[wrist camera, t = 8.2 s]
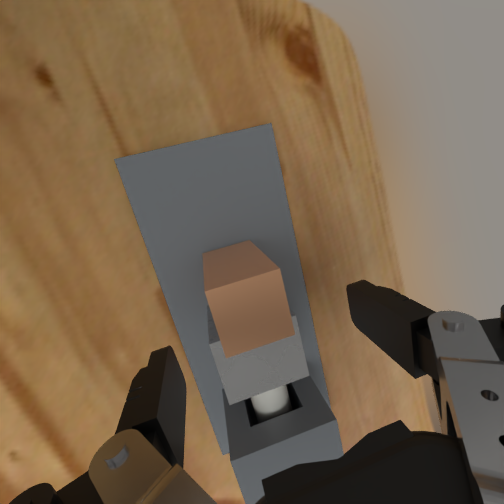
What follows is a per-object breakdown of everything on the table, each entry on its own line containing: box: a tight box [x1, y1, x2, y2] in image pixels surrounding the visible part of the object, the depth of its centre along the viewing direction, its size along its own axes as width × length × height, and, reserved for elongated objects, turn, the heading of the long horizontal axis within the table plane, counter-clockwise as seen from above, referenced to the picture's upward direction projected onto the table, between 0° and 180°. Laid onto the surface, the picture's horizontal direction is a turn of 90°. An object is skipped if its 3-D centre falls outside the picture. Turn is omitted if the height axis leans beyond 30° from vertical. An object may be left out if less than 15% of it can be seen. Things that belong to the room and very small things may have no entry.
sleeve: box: [207, 305, 309, 405], centre depth 21 cm, size 5×6×6 cm
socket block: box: [222, 375, 344, 504], centre depth 23 cm, size 6×8×7 cm
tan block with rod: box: [202, 240, 295, 424], centre depth 20 cm, size 18×4×9 cm, turn 14°
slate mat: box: [114, 123, 331, 455], centre depth 24 cm, size 29×12×1 cm, turn 14°
